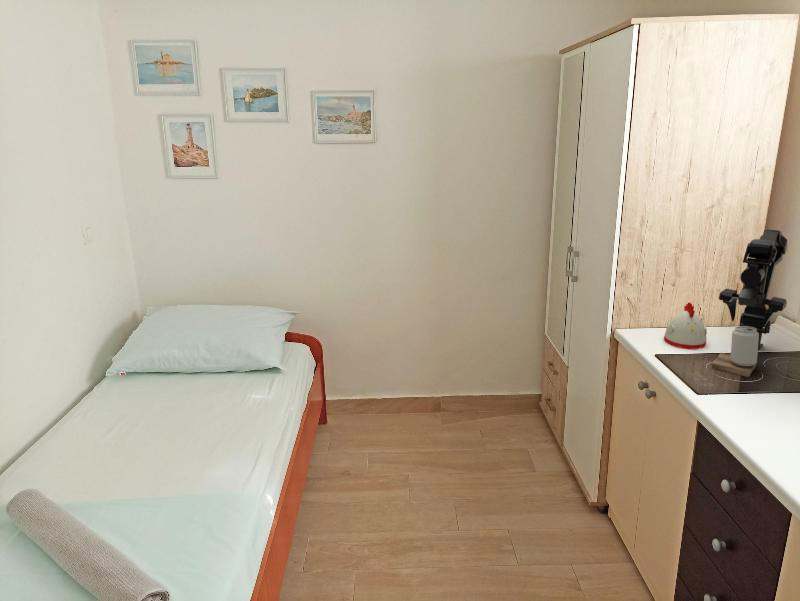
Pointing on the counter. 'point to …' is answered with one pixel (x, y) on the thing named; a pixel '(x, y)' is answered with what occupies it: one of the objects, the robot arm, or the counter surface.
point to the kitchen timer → (686, 330)
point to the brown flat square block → (731, 365)
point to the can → (744, 346)
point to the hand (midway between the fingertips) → (747, 323)
